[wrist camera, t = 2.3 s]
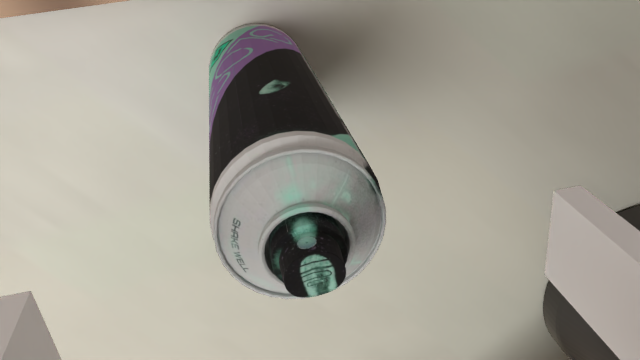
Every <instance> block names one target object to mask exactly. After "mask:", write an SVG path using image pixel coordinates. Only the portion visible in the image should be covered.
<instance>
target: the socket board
mask: <svg viewBox="0 0 640 360" xmlns="http://www.w3.org/2000/svg"><path fill="white" fill-rule="evenodd" d="M121 1H128V0H0V18H5V17H12V16H19V15H27V14H34V13H41V12H48V11H56V10H63V9H70V8H77V7H85V6H92V5H99V4H106V3H114V2H121Z"/></svg>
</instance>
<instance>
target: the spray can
mask: <svg viewBox="0 0 640 360" xmlns="http://www.w3.org/2000/svg"><path fill="white" fill-rule="evenodd" d="M209 163H210V227H211V231H212V236H213V239H214V241H215V246H216V251H217V253H218V255H219V257H220V259H221V262H222V264H223V265H224V267H225V268H226V269H227V270H228V272H229V273H230V274H231V275H232V276H233V277H234V278H235V279H236V280H238V281H239V282H240V283H241V284H242V285H244V286H246V287H247V288H249V289H251V290H253V291H255V292H257V293H260V294H263V295H266V296H270V297H275V298H282V299H303V298H309V297H314V296H319V295H322V294H325V293H328V292H330V291H333V290H335V289H337V288H339V287H340V286H342V285H344V284H346V283H348V282H349V281H350V280H351V279H353V278H354V277H355V276H357V275H358V274H359V273H360V272H361V271H362V270H363V269H364V268H365V267H366V266H367V265H368V264H369V263H370V261H371V260H372V258H373V257H374V255H375V253H376V252H377V250H378V248H379V246H380V243H381V241H382V238H383V235H384V230H385V224H386V210H385V204H384V201H383V197H382V194H381V190H380V187H379V183H378V180H377V178H376V176H375V174H374V173H373V171H372V169H371V167H370V165H369V164H368V162H367V160H366V159H365V157H364V155H363V154H362V152H361V150H360V149H359V147H358V146H357V144H356V142H355V141H354V139H353V137H352V136H351V134H350V132H349V131H348V129H347V127H346V126H345V124H344V122H343V121H342V119H341V117H340V116H339V114H338V112H337V111H336V109H335V107H334V106H333V104H332V102H331V101H330V99H329V97H328V96H327V94H326V92H325V91H324V89H323V87H322V86H321V84H320V82H319V81H318V79H317V77H316V76H315V74H314V73H313V71H312V69H311V68H310V66H309V64H308V63H307V61H306V59H305V58H304V56H303V54H302V53H301V51H300V49H299V48H298V46H297V45H296V43H295V42H294V41H293V40H292V39H291V38H290V37H289V36H288V35H287V34H286V33H284V32H283V31H282V30H280V29H278V28H276V27H273V26H270V25H266V24H257V23H254V24H246V25H243V26H240V27H237V28H235V29H233V30H232V31H230V32H228V33H227V34H226V35H225V36H224V37H223V38H222V39H221V40H220V41H219V43H218V44H217V45H216V47H215V49H214V51H213V53H212V56H211V60H210V65H209Z"/></svg>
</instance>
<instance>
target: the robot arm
mask: <svg viewBox="0 0 640 360" xmlns="http://www.w3.org/2000/svg"><path fill="white" fill-rule="evenodd" d="M544 275H545V276H546V277H547V278H548V279H549V283H548V285H547V289H546V292H545V296H544V303H543V314H544V320H545V324H546V327H547V329H548V331H549V333H550V334H551V336H552V337H553V338H554V340H555V341H556V342H557V343H558V345H559V346H560V347H561V349H562V350H563V351H564V352H565V354H566V355H567V356H568V357H569V358H570V359H571V360H640V205H639V206H636V207H633V208H630V209H627V210H624V211H622V212H620V213H616V212H614V211H613V210H612V209H611V208H609V207H608V206H607V205H605V204H604V203H603V202H602V201H600V200H599V199H598V198H596V197H595V196H594V195H593V194H591V193H590V192H589V191H588V190H586V189H585V188H584V187H582V186H581V185H579V186H574V187H569V188H564V189H559V190H554V191H553V200H552V209H551V219H550V228H549V237H548V246H547V256H546V265H545V274H544ZM0 360H61V357H60V355H59V353H58V351H57V348H56V346H55V344H54V342H53V339H52V337H51V335H50V333H49V331H48V328H47V326H46V324H45V322H44V319H43V317H42V315H41V313H40V310H39V308H38V306H37V304H36V301H35V299H34V297H33V295H32V292H31V291H28V292H23V293H17V294H12V295H7V296H2V297H0Z"/></svg>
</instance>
